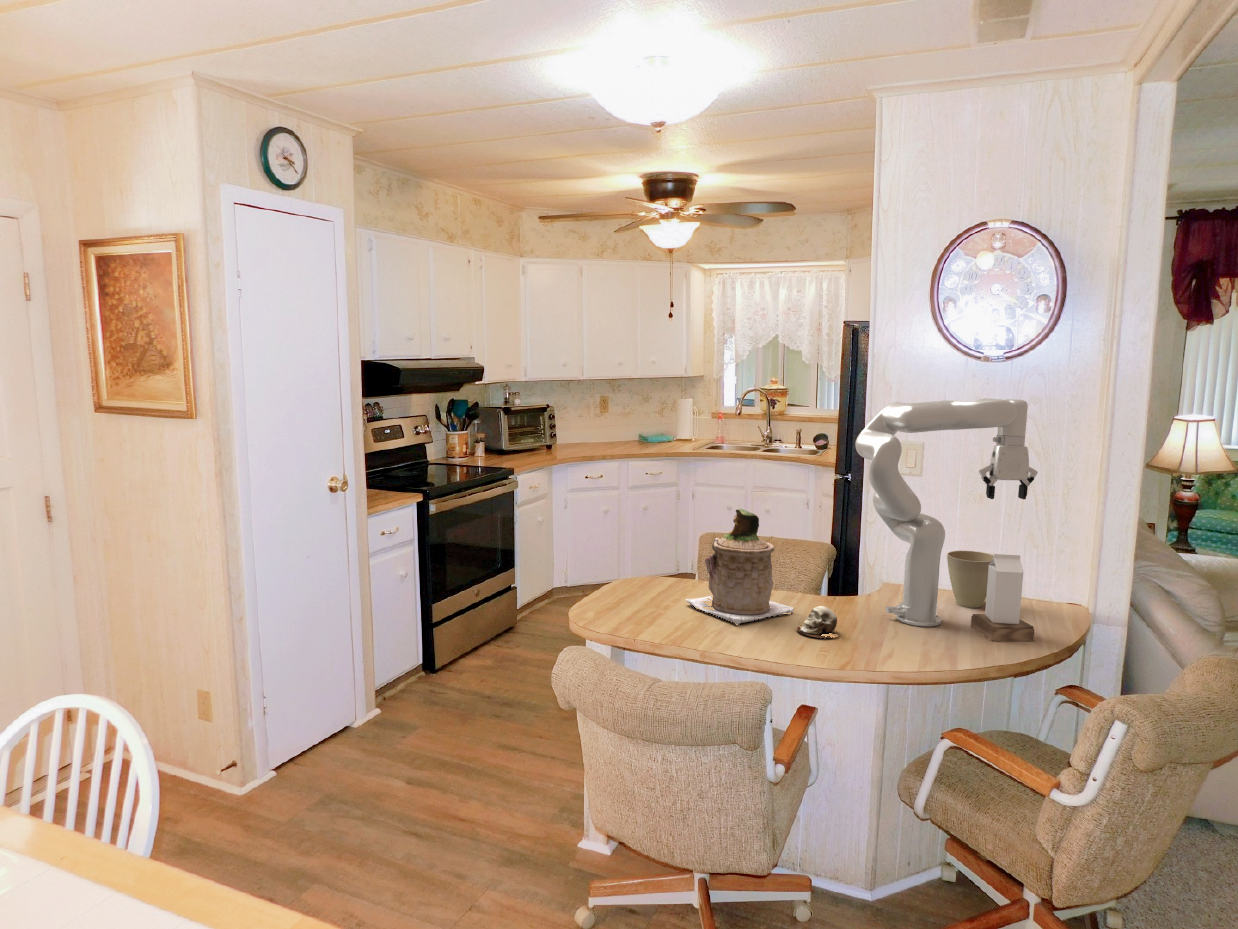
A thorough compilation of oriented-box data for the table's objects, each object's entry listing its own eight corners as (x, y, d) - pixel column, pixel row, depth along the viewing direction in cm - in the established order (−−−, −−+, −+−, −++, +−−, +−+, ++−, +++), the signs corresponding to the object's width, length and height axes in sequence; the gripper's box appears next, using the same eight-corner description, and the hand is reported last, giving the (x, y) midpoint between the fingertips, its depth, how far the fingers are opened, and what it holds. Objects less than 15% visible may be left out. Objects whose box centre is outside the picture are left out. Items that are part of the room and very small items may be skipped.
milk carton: (1019, 624, 230) (1024, 558, 228) (992, 623, 231) (997, 557, 228) (1010, 617, 237) (1015, 552, 235) (984, 615, 238) (989, 551, 235)
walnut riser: (991, 641, 228) (992, 627, 228) (970, 627, 240) (971, 613, 240) (1033, 641, 229) (1034, 627, 228) (1010, 627, 241) (1011, 613, 240)
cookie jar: (797, 614, 250) (801, 510, 246) (736, 627, 236) (740, 517, 232) (741, 594, 270) (744, 497, 266) (682, 605, 256) (685, 504, 252)
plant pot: (969, 596, 272) (973, 548, 270) (1004, 609, 258) (1009, 559, 256) (933, 600, 267) (936, 551, 265) (967, 613, 253) (971, 562, 251)
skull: (810, 639, 224) (799, 604, 230) (797, 653, 233) (787, 620, 238) (850, 635, 227) (838, 601, 233) (836, 649, 235) (825, 616, 241)
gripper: (988, 442, 240) (984, 500, 242) (1046, 443, 240) (1041, 501, 243) (976, 439, 247) (971, 496, 249) (1032, 440, 248) (1027, 496, 250)
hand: (1006, 498), depth 246 cm, fingers open, 9 cm apart
